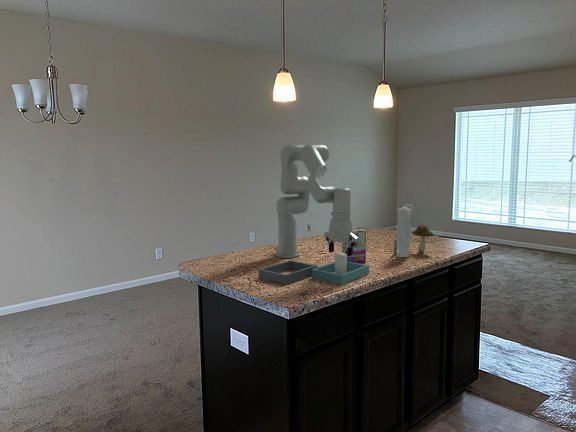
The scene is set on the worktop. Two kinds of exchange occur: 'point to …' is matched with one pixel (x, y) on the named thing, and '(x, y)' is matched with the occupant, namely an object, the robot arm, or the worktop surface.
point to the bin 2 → (326, 275)
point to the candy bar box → (357, 247)
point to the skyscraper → (403, 233)
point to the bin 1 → (274, 271)
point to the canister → (340, 263)
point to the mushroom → (422, 236)
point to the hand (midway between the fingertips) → (340, 253)
